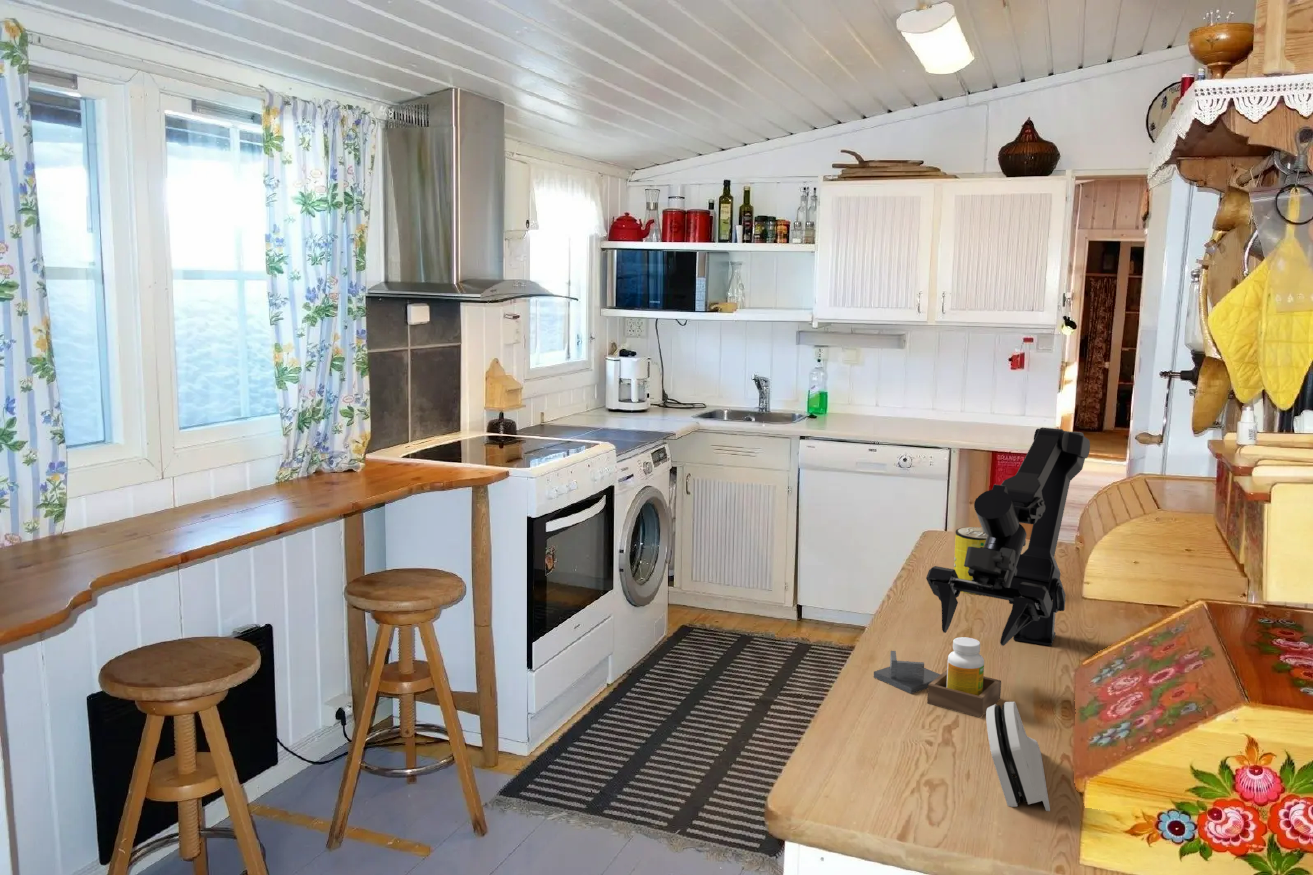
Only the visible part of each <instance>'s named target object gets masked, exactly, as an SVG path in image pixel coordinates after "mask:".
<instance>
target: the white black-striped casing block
mask: <svg viewBox="0 0 1313 875" xmlns="http://www.w3.org/2000/svg"><path fill="white" fill-rule="evenodd" d="M985 722H986V731H987V732H986V733H987V738H988V743H989V750H990V753H991V754H990V755H991V758H992V761H993V765H994V767H995V770H996V773H997V776H998V777H997V778H998V781H999V784H1000V786H1001V790H1002V792H1003V796H1004V798H1005V801H1006V806H1007V807H1011V808H1013V807H1016V808H1017V807H1018V804H1021V798H1020V797H1022V801H1023V803H1025V802H1027V805H1031V804H1036V803H1040V802H1042V803H1043V806H1044V809H1045V811H1046V812H1051V808H1050V807H1051V806H1050V801H1049V800H1050V799H1049V795H1048V788H1047V782H1046V777H1045V776H1046V774H1045V770H1044V763H1043V757H1042V752H1041V749H1040V746H1039V743H1038V741H1037V740H1036V739H1034V738H1032V737H1030V736H1028V735H1027V733H1026V730H1025V727H1024V724H1023V721H1022V718H1021V715H1020V712H1019V709H1018V706H1017V703H1016V701H1005V702H1004V703H1003V704H1002V705H998V704H997V703H995V704H994V705H993V706H990V707H988V708H987V711H986V713H985ZM1013 775H1015V777H1014V776H1013Z"/></svg>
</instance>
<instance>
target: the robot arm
mask: <svg viewBox="0 0 1313 875" xmlns="http://www.w3.org/2000/svg"><path fill="white" fill-rule="evenodd" d="M1090 449H1091V442H1090V439H1089V438H1088V437H1085V435H1084V432H1080V431H1079V432H1078V431H1069V430H1063V429H1062V428H1051V427H1043V426H1042V427H1040V428H1036V430H1035V432H1034V435H1033V442H1032V444H1031V445H1030V448H1029V449H1028V451H1027V454H1026V455H1025V457H1024V458H1023V461H1022V462H1021V464H1020V466H1019V468H1018V470H1017V472H1016V473H1015V475H1013V476H1011V477H1008V478H1006V479H1004V480H1003V481H1002V483H1001V484H995V483H994V484H993V486H992V489H990V490H989V489H988V490H986V491H984V492H982V493H981V494H979V495H978V497H976V498H975V501H974V504H973V507H974V508H973V509H974V511H975V514H976V516H977V519H978V521H979V524H980V526H981V528H982V529H983V531H984V532H985V533H986V534H987V535H988V536H987V538H986V541H985V544H984V547H980V548H977V547H970V546H969V547H968V549H967V553H966V558H965V563H964V566H965V567H968V568H969V570H968V574H969V576H972V577H973V579H972V581H970V580H964V579H959V578H958V576H957V573H956V571H955V569H954V568H948V567H944V566H943V567H942V566H937V565H935V566H933V567H931V568H929V569H928V571H927V575H926V577H925V580H926V581H927V583H928V586H929V587H930V589H931V592H932V594H933V595H935V596H936V597H937V598H938V600H939V601H940V605H941V631H942V633H945V634H946V633H947V632H948V630H949V628H950V626H951V624H952V621H953V619H954V615H955V612H956V610H957V607H958V603H959V602H958V599H957V598H958V597H959V596H960V593H961V592H960V591H963V592H968V593H973V594H978V596H984V597H989V598H995V599H1000V600H1005V601H1008V604H1010V605H1012V608H1011V611H1010V614H1009V616H1008V618H1007V621H1006V622H1005V623H1006V624H1005V626H1004V628H1003V631H1002V634H1001V635H1000V636H1001V637H1000V641H999V643H1000V645H1001V646H1003V647H1004V646H1005V645H1006V644H1007V643H1008V642H1009V641H1010V640H1012V638H1013V640H1014V641H1017V642H1018V641H1019V642H1025V643H1031V644H1035V645H1036V644H1038V645H1044V646H1052V645H1053V643H1054V639H1055V637H1056V631H1055V624H1056V614H1057V613H1058V612H1064V611H1065V609H1066V596H1067V595H1066V591H1065V589H1064V586H1063V583H1062V580H1061V571H1060V568H1059V566H1058V564H1057V560H1056V558H1055V554H1056V550H1057V546H1058V541H1059V535H1060V531H1061V527H1062V522H1063V516H1064V512H1065V507H1066V502H1067V498H1068V493H1069V488H1070V483H1071V481H1072V480H1073V479H1074V478H1075V477H1076V476H1077V475H1078V474H1079V473H1080V472H1081V471H1082V470H1083V468H1084V464H1085V461H1086V459H1088V457H1089V455H1090ZM1020 523H1021V524H1020ZM1022 524H1027V525H1032V529H1031V533H1030V537H1029V541H1028V547H1027V549H1026V550H1024V551H1023V552H1022V550H1023V547H1025V546H1026V544H1027V543H1026V542H1027V541H1026V538H1027V536H1028V535H1027V531H1026V529H1025V528H1024V526H1023V525H1022ZM963 592H962V593H963ZM973 594H972V595H973Z"/></svg>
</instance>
